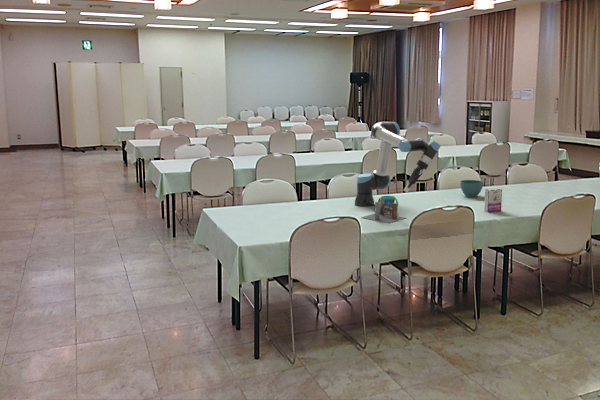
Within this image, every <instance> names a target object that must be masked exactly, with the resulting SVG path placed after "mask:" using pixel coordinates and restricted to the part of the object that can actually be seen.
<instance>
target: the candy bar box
mask: <svg viewBox="0 0 600 400" xmlns="http://www.w3.org/2000/svg"><path fill="white" fill-rule="evenodd" d="M502 198H503V189H502V188H499V187H498V188H485V189H484V212H486V213H497V212H498V213H499V212H501V211H502V202H503V201H502V200H503V199H502Z"/></svg>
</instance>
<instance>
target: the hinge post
mask: <svg viewBox="0 0 600 400" xmlns="http://www.w3.org/2000/svg"><path fill="white" fill-rule="evenodd" d="M379 198H380V197H379ZM383 204H384V198H380V215H383Z"/></svg>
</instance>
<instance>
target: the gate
mask: <svg viewBox="0 0 600 400" xmlns="http://www.w3.org/2000/svg"><path fill="white" fill-rule="evenodd" d="M385 208H386V211H385ZM388 209H390V211H388ZM391 210H392V211H391ZM383 215H388V216H391V217H392V218H393V219H397V216H398V207H397V203H396V202H394V203H392V208H390V207H387V206H385V204H383Z"/></svg>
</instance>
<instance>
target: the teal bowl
mask: <svg viewBox="0 0 600 400" xmlns="http://www.w3.org/2000/svg"><path fill="white" fill-rule="evenodd" d="M459 184H460V188H461V191H462V194H464V196H465V198H466V197H467V198H476V197H478V195H480V193H481V192H482V189H483V186H484V181H482V180H475V179H474V180H473V179H464V180H460V181H459Z"/></svg>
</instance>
